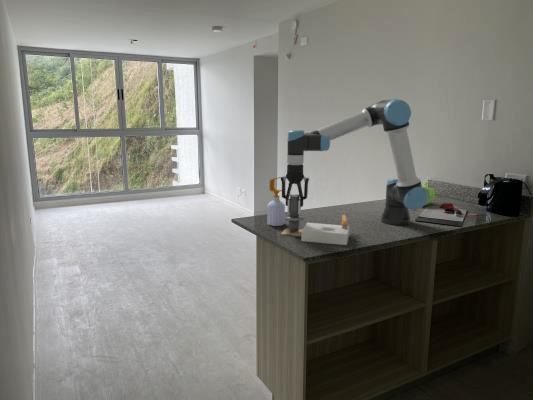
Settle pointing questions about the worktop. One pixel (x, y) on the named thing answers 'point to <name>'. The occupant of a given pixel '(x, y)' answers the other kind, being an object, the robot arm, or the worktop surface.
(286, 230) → the cork mat
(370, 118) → the robot arm
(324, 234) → the socket block
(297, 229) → the plug
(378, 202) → the worktop surface
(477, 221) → the worktop surface
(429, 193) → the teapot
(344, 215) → the clip
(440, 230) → the worktop surface
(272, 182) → the soap bottle
